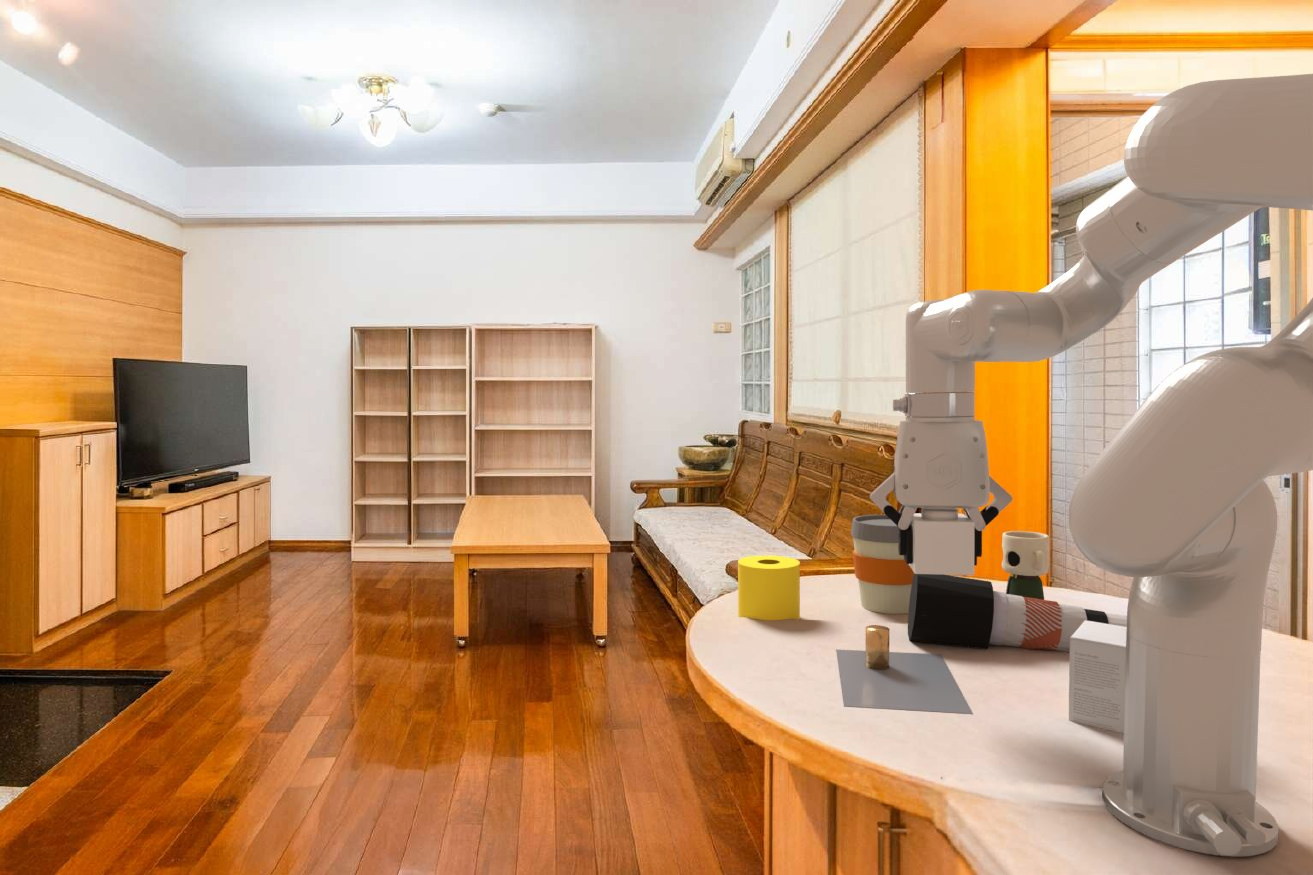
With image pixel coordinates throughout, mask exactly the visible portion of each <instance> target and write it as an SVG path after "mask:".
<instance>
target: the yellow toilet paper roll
mask: <svg viewBox="0 0 1313 875" xmlns="http://www.w3.org/2000/svg"><path fill="white" fill-rule="evenodd" d="M800 564H801V562H800V560H798V559H796V558H793V557H788V556H782V555H781V556H780V555H752V556H746V557H745V556H744V557H741V558H739V559H738V561H737V581H738V582H737V586H738V587H737V591H738V592H737V594H738V595H737V597H738V598H737V601H738V602H737V603H738V604H737V607H738V609H737V612H738V613H737V614H738V616H737V617H738V618H750V619H754V620H761V621H763V620H764V621H781V620H799V619H801V618H800V617H801V614H800V612H801V608H800V606H801V605H800V604H801V596H800V595H801V591H800V590H801V588H800V586H801V585H800V584H801V582H800V580H801V575H800V574H801V572H800V571H801V568H800V567H801V565H800Z"/></svg>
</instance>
